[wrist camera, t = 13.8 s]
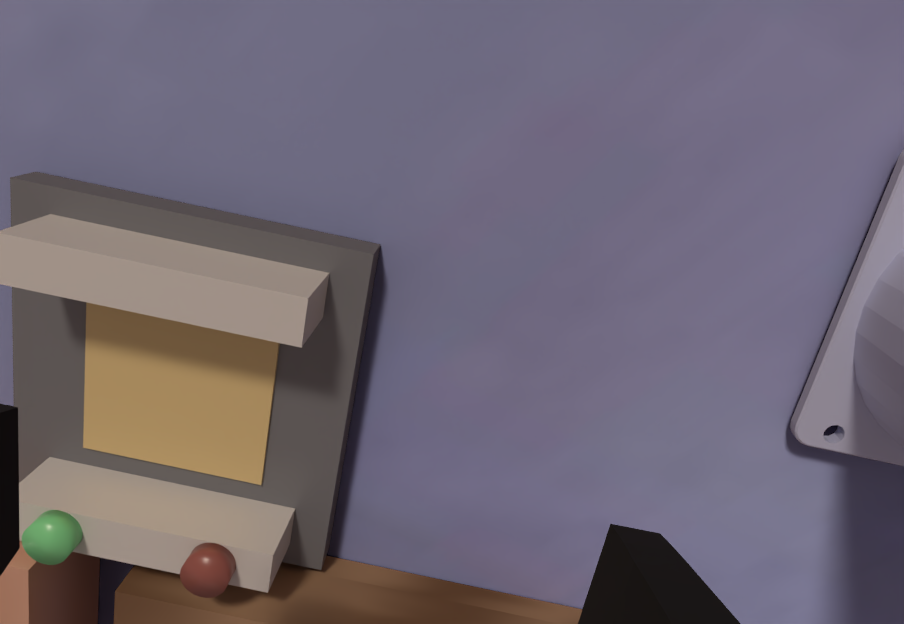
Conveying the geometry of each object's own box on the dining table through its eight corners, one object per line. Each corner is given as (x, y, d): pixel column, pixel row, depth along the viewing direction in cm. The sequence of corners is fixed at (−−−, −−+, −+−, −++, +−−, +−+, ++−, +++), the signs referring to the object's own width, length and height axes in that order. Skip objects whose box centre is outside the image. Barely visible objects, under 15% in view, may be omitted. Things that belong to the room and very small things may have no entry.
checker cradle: (380, 244, 18) (352, 286, 15) (329, 547, 21) (296, 639, 18) (36, 171, 18) (-72, 196, 15) (36, 486, 21) (-52, 566, 18)
